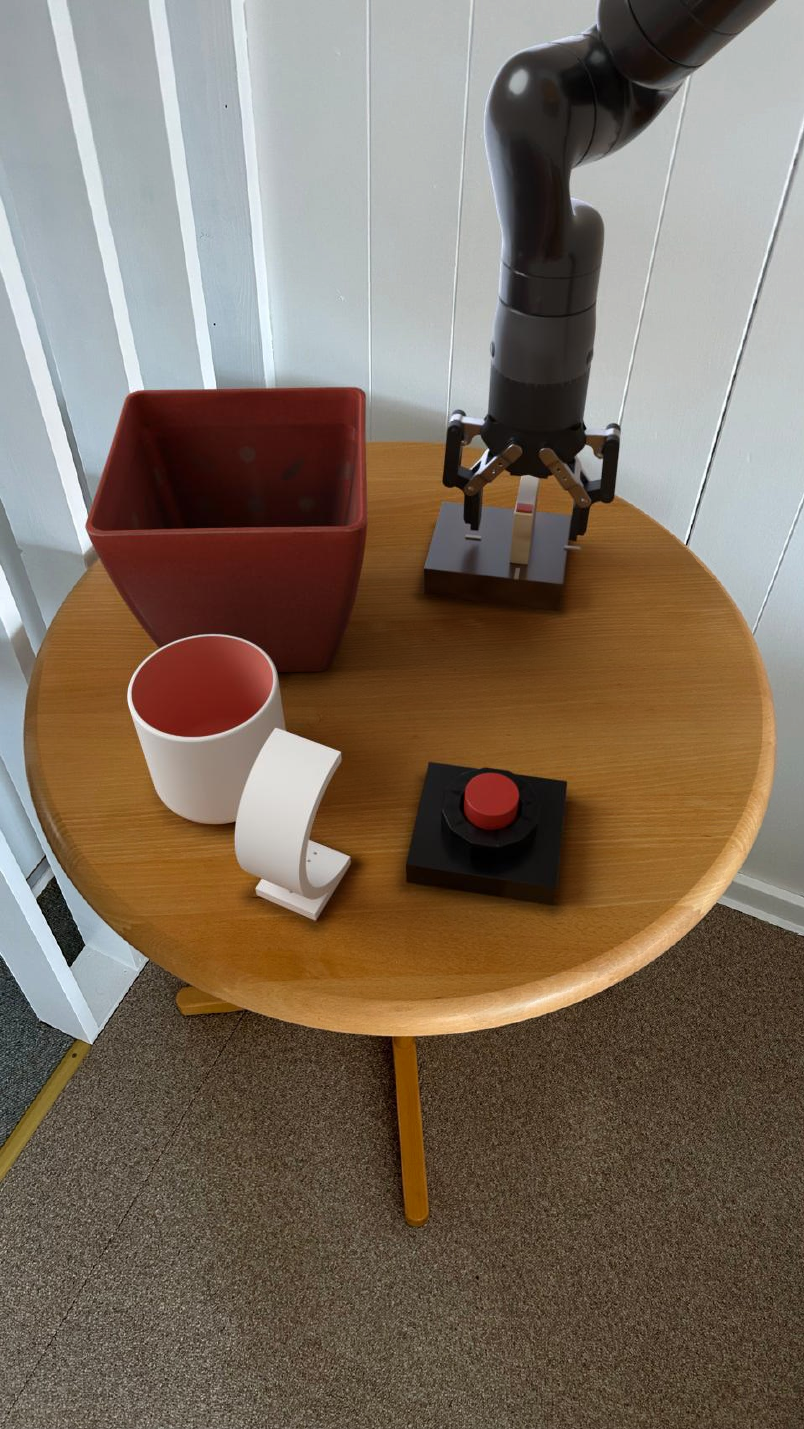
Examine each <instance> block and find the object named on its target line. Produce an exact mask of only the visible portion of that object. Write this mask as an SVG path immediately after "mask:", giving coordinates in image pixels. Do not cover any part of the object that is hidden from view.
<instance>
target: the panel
mask: <svg viewBox="0 0 804 1429" xmlns="http://www.w3.org/2000/svg"><path fill="white" fill-rule="evenodd" d="M514 511H515V508H509V507H501V506H490V505H482V514H481V522H480V526H479V530H478V531H473V530H470V525H471V524H465V521H464V519H463V515H464V502H463V503H462V502H452V501H442V502H441V506H440V509H439V513H438V516H437V520H436V524H435V526H434V530H433V534H432V537H431V540H430V545H429V548H428V552H427V556H426V560H425V564H424V567H423V595H424V596H432V597H441V598H447V599H448V598H449V599H457V600H458V599H459V600H466V601H473V602H481V603H482V602H483V603H492V604H500V605H508V606H517V607H524V608H533V609H540V610H541V609H542V610H552V611H560V609H561V603H562V595H563V588H564V582H565V573H566V566H567V565H566V564H567V557H568V550H570V551H579V552H580V551H581V548H582V547H581V546H575V545H569V532H570V525H571V518H572V514H568V513H557V512H547V511H537V510H536V518H535V526H534V532H533V537H532V543H531V549H530V555H529V561H528V564H519V563H510V551H511V540H512V530H513V519H514Z"/></svg>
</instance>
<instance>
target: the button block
mask: <svg viewBox="0 0 804 1429" xmlns="http://www.w3.org/2000/svg"><path fill="white" fill-rule="evenodd" d="M484 773H497V774H501V775H504V776H506V777H508V778H509V779H511V780H512V781H513V782H514V783H515V785H516V786H517V788H518V791H519V803H518V810H517V815H516V818H515V819H514V821H513V822H512V823H511V824H510V825H508V826H507V827H505V828H503V829H500V830H484V829H481V828H479V827H477V826H475V825H473V824H472V823H471V822H470V821H469V820H468V818H467V817H466V815H465V812H464V799H465V789H466V786H467V784H468V783H469V782H470V781H471V780H472V779H473V778H474V777H476V776H478V775H480V774H484ZM567 790H568V781H567V780H561V779H554V778H547V777H540V776H533V775H526V774H519V773H514V772H512V771H510V770H507V769H500V768H495V767H494V768H493V767H488V766H487V767H486V766H485V767H480V768H478V767H477V768H476V767H470V766H463V765H455V764H449V763H441V762H436V761H435V762H434V761H428V763H427V768H426V772H425V777H424V782H423V786H422V791H421V795H420V798H419V804H418V808H417V813H416V818H415V822H414V826H413V831H412V834H411V839H410V844H409V849H408V853H407V857H406V863H405V882H406V883H409V884H415V885H422V886H427V887H433V888H434V887H435V888H440V889H448V890H453V891H459V892H466V893H472V894H477V895H484V896H489V897H490V896H491V897H497V898H504V899H510V900H514V901H515V900H516V901H522V902H529V903H534V904H541V905H548V906H555V905H554V904H555V901H556V894H557V891H558V880H559V872H560V871H559V870H560V860H561V851H562V841H563V831H564V830H563V829H564V820H565V811H566V810H565V809H566V799H567Z"/></svg>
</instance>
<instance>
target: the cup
mask: <svg viewBox="0 0 804 1429" xmlns="http://www.w3.org/2000/svg"><path fill="white" fill-rule="evenodd" d="M278 676H279V675H278V672H277V671H276V668H275V665H274V663H273V662H272V660H271V658H270V657H269V656H268V655H267V654H266V653H265V652H264V651H263V650H262V649H261V648H259V647H258V646H256V645H255V644H253V643H251V642H249V641H247V640H244V639H241V638H238V637H234V636H229V635H221V634H205V635H197V636H191V637H187V638H183V639H180V640H177V641H175V642H172V643H170V644H168V645H166V646H164V647H162V648H158V649H157V650H155V651H154V652H153V653H151V654H150V655H149V656H147V657H146V658H145V659H144V660H143V661H142V662H141V663H140V664H139V666H137V668H136V670H135V671H134V673H133V674H132V676H131V679H130V682H129V684H128V688H127V704H128V709H129V712H130V714H131V718H132V721H133V724H134V728H135V730H136V733H137V734H136V735H137V738H138V739H139V743H140V746H141V749H142V752H143V755H144V758H145V761H146V765H147V767H148V771H149V774H150V777H151V781H152V783H153V786H154V789H155V791H156V794H157V795H158V797H159V798H160V800H161V801H162V803H163V804H164V805H165V806H166V807H167V808H168V809H169V810H171V811H172V812H173V813H175V814H176V815H178V816H179V817H182V818H183V819H185V820H186V819H187V820H189V821H191V822H195V823H199V824H204V825H205V824H206V825H223V824H230V823H234V822H235V823H236V819H237V814H238V809H239V805H240V801H241V798H242V794H243V791H244V788H245V785H246V782H247V780H248V777H249V775H250V772H251V770H252V768H253V765H254V763H255V761H256V759H257V757H258V755H259V753H260V751H261V749H262V748H263V746H264V744H265V742H266V741H267V739H268V738H269V736H270V735H271V733H272V732H273V730H274V729H275V728H278V729H281V730H283V731H286V732H287V729H286V723H285V717H284V716H285V715H284V709H283V702H282V696H281V695H282V694H281V689H280V683H279V682H280V681H279V677H278Z"/></svg>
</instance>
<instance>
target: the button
mask: <svg viewBox="0 0 804 1429" xmlns="http://www.w3.org/2000/svg"><path fill="white" fill-rule="evenodd" d="M518 803H519V791H518V788H517V786H516V785H515V783H514V782H513V781H512V780H511V779H509V778H508V777H506V776H504V775H501V774H497V773H484V774H480V775H478V776H476V777H474V778H473V779H472V780H471V781H470V782H469V783H468V784H467V786H466V789H465V799H464V812H465V815H466V817H467V818H468V820H469V821H470V822H471V823H472V824H473V825H475V826H477V827H479V828H481V829H484V830H500V829H503V828H505V827H507V826H508V825H510V824H511V823H512V822H513V821H514V819H515V818H516V815H517V810H518Z"/></svg>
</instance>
